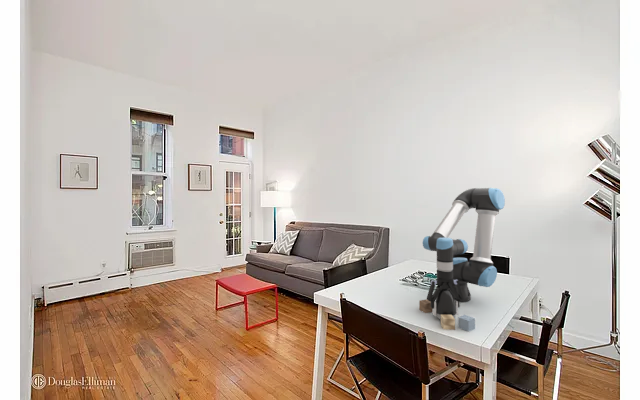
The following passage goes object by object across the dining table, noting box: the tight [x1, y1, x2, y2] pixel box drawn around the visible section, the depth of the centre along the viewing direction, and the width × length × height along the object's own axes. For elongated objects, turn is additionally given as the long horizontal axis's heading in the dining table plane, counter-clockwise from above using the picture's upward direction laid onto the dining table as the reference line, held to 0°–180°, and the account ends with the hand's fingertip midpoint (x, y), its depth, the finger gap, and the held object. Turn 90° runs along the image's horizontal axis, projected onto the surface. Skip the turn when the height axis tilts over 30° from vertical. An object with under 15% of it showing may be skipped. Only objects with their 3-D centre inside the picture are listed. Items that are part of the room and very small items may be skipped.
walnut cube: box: [418, 298, 432, 314], centre depth 166 cm, size 5×5×5 cm
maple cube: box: [440, 315, 456, 331], centre depth 146 cm, size 5×5×5 cm
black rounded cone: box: [435, 289, 457, 320], centre depth 155 cm, size 10×10×15 cm
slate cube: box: [457, 314, 476, 333], centre depth 145 cm, size 5×5×5 cm
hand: (445, 314), depth 156 cm, fingers closed on black rounded cone, 10 cm apart
